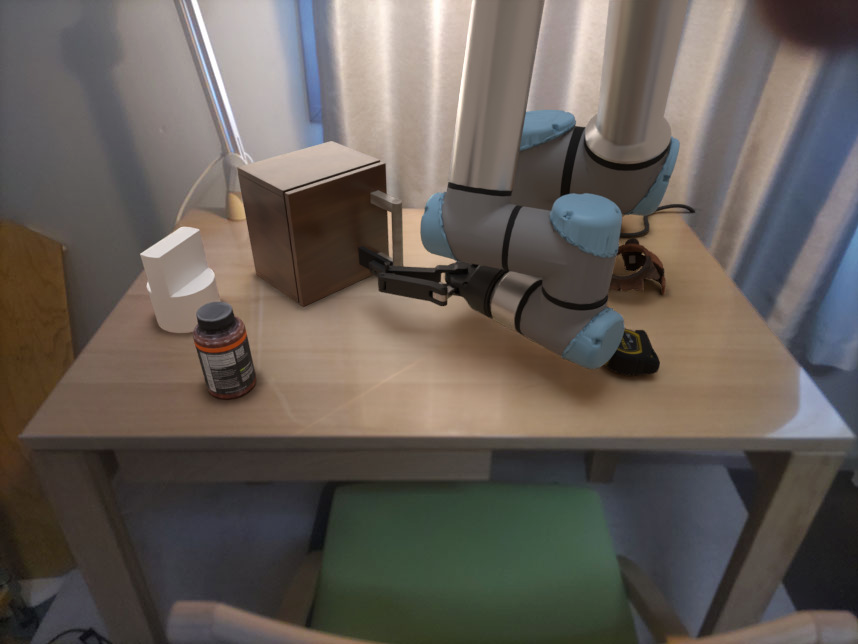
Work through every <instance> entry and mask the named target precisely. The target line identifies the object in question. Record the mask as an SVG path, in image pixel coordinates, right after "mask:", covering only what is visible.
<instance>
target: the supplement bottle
mask: <svg viewBox="0 0 858 644" xmlns="http://www.w3.org/2000/svg"><path fill="white" fill-rule="evenodd" d="M196 317H197V322H198V324H197V325H196V327H195V329H194V331H193V332H192V339H193V343H194V347H195V350H196V353H197V357H198V360H199V364H200V367H201V370H202V371H201V372H202V375H203V378H204V382H205V385H206V387H207V390H208V392H209V393H210V395H212V396H213V397H215V398H217V399H222V400H229V399H235V398H239V397H242V396H244V395H246V394H247V393H248V392H250V391H251V390H252V389H253V387H254V386H255V385H256V381H257V376H256V369H255V364H254V361H253V356H252V351H251V347H250V342H249V337H248V335H247V334H248V333H247V328H246V325H245V323H244V321H243V319H241V318H240V317H238V316H237V315H235V313H234V309H233V306H232V304H230V303H228V302H226V301H221V302H211V303H207V304H205V305H203V306H201V307H200V308H199V309H198V310H197V312H196Z"/></svg>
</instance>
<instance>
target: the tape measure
mask: <svg viewBox="0 0 858 644" xmlns="http://www.w3.org/2000/svg"><path fill="white" fill-rule="evenodd" d="M604 365H605V366H606V368H607V369H609V370H611V371H612V372H614V373H617V374H619V375H623V376H628V377H629V376H630V377H632V376H640V375H654V374H656V373H657V372H658V371H659V368H660V367H661V361H660V358H659V356H658V353H656V350H655V349H654V348H653V345H652V343H651V339H650V337H649V335H648V333H647V332H646V330H644V329H636V330H631V329H628V328H625V329H624V334H623V337H622V340H621V342H620V344H619V346H618V348H617V350H616V351H615V353H614V354H613V356H612V357H611V358H610V359H609V361H608V362H606V363H605V364H604Z"/></svg>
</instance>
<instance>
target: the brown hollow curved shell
mask: <svg viewBox="0 0 858 644" xmlns="http://www.w3.org/2000/svg"><path fill="white" fill-rule="evenodd" d="M617 256H621V258H622V261H623V265H624V267H625V269H624V270H625V271H626V272H633V273H630V274H626V275H618V274H614V273H612V278H611V282H610V287H609V290H611V291H615V292H619V293H620V292H621V291H622V292H628V291H634V290H637V291H639V292H644V291H645V290H644V279H646V280H650V281H651V280H653V281H654V282H657V283H658V284H659V285H660V288H661V295H663V296H664V295H665V294H666V285H667V282H666V281H667V280H666V277H665V268H664V264H663V262H662V261H661V259H660V258H659V256H658V255H656V254H655V253H653V252H652V251H650V250H649V249H648V248H647V247H646V246H644V245H641V244H640V240H638V238H635V237H631V238H629V239H627V240H626V241H625V242H624V244H622V245H619V247H618V253H617V255H616V257H617Z"/></svg>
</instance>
